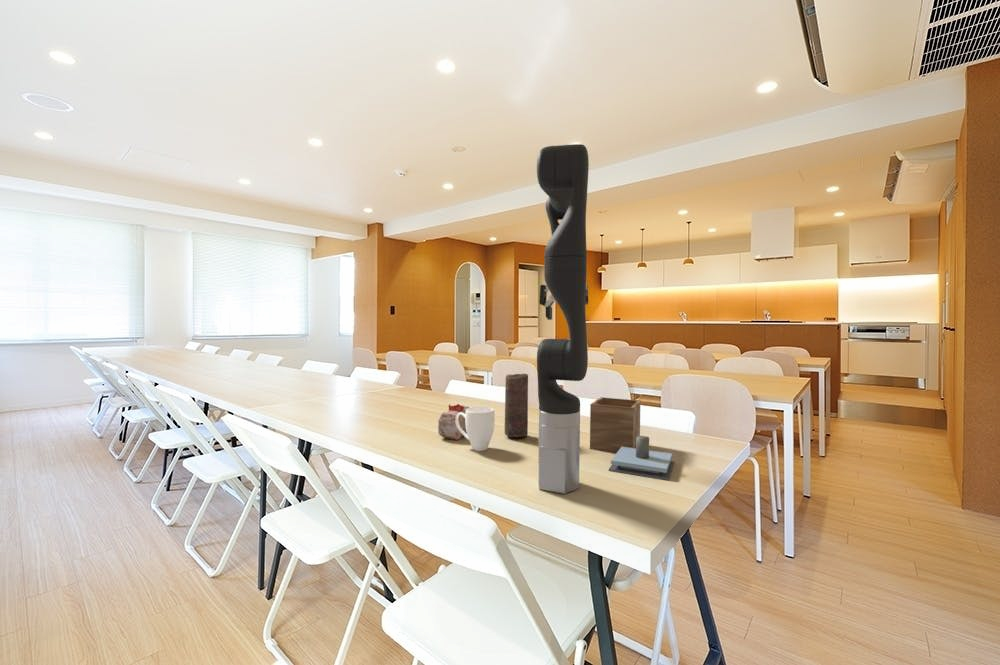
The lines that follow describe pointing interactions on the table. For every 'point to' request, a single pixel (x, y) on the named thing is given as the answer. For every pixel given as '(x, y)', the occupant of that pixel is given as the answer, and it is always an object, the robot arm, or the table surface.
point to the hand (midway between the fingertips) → (563, 319)
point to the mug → (478, 426)
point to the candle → (516, 405)
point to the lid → (642, 457)
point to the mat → (642, 473)
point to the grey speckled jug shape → (452, 422)
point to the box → (614, 424)
